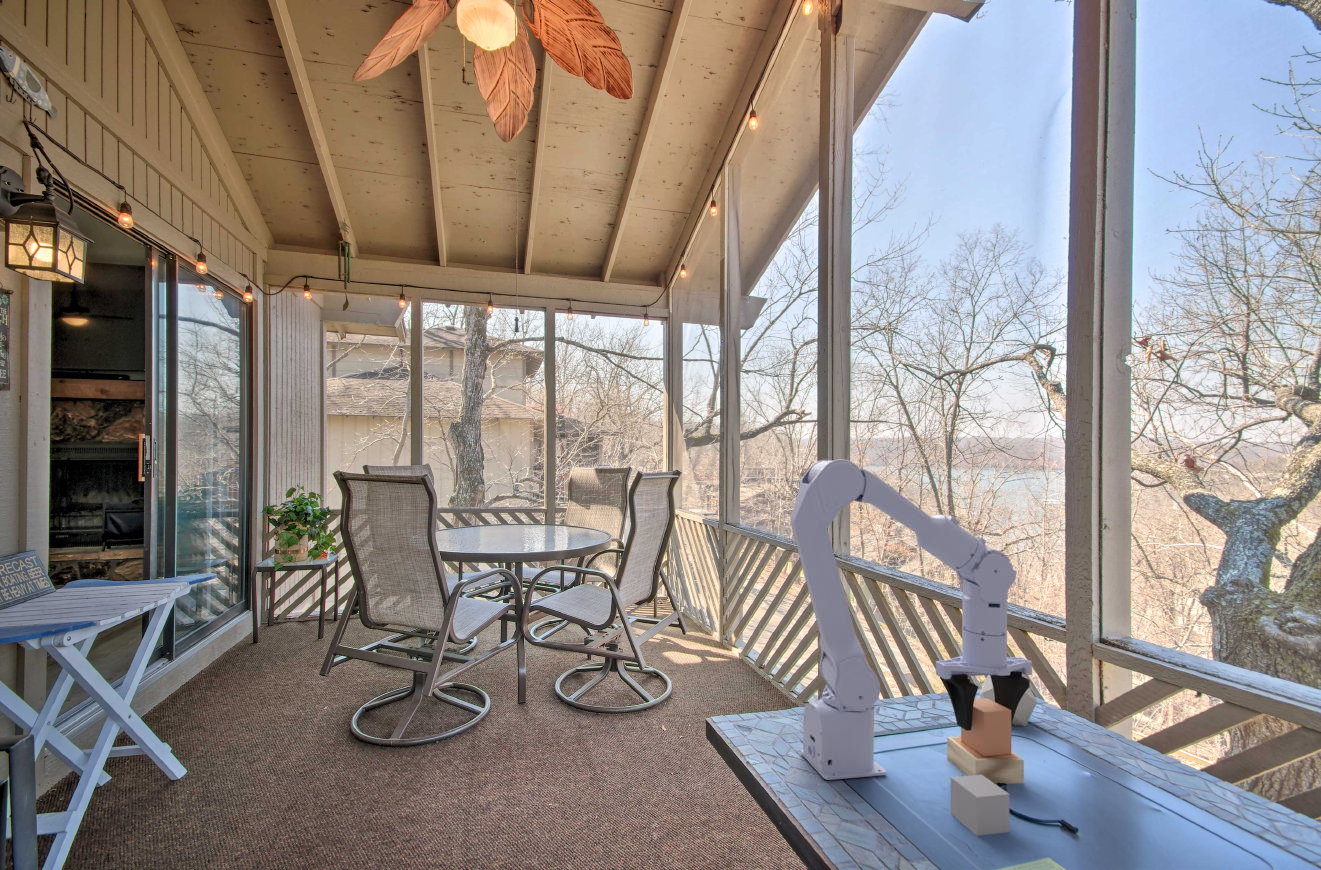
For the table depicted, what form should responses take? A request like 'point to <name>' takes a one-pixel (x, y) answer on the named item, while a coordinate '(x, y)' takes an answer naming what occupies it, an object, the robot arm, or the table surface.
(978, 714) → the terracotta block
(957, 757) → the maple base
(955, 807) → the grey block
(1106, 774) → the table surface
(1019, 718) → the die
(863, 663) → the robot arm
